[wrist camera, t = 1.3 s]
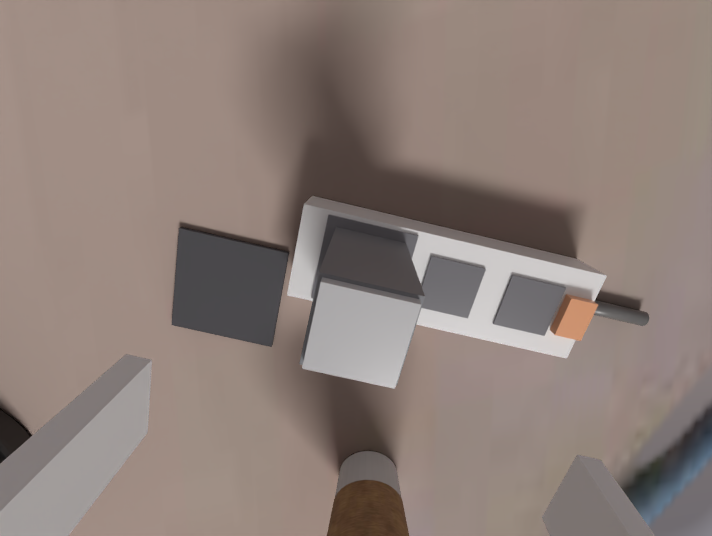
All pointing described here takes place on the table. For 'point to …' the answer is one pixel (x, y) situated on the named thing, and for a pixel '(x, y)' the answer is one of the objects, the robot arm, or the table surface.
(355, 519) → the coffee cup
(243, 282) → the mat
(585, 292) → the power strip
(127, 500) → the table surface
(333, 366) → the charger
